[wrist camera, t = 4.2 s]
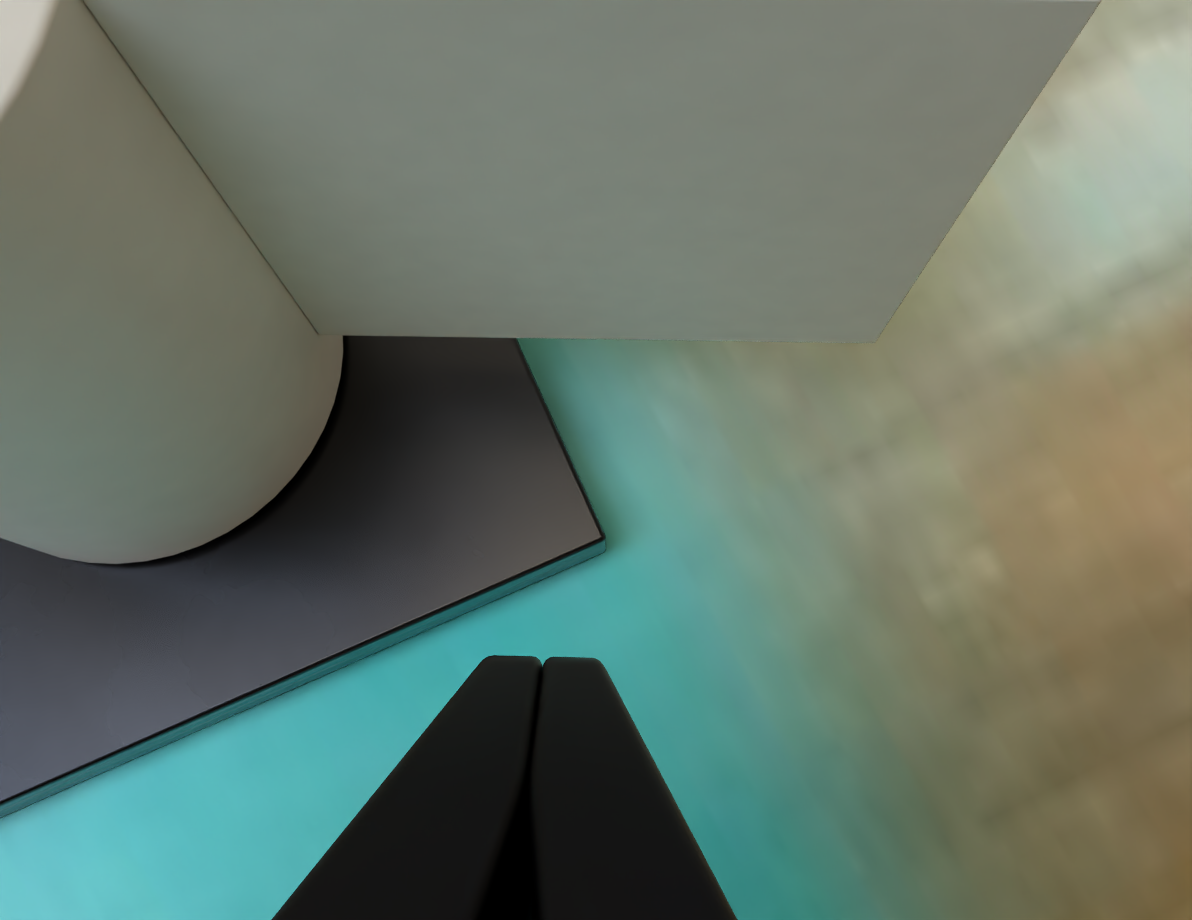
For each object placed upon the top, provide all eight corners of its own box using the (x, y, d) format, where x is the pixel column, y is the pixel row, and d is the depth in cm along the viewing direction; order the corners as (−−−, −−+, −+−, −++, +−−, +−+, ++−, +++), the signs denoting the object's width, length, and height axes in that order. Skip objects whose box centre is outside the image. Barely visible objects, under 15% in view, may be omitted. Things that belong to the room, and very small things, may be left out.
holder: (607, 551, 19) (607, 538, 18) (-66, 847, 18) (-112, 854, 17) (361, 4, 22) (347, -37, 21) (-234, 231, 21) (-284, 201, 20)
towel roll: (857, 374, 18) (1132, -33, 9) (24, 735, 17) (-734, 724, 7) (641, -33, 20) (671, -728, 11) (-118, 262, 19) (-859, -230, 9)
